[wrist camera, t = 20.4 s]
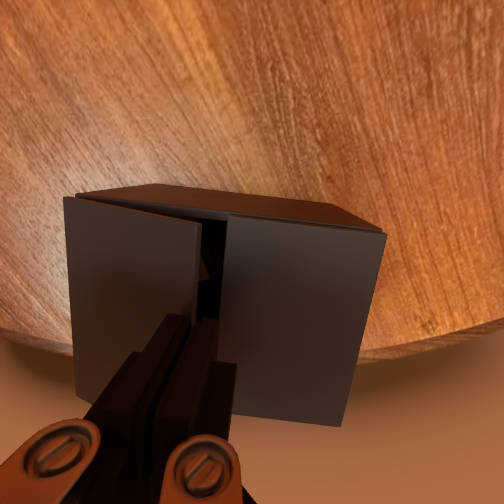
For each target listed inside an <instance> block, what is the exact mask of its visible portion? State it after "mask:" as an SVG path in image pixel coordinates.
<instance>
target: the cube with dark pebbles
mask: <svg viewBox="0 0 504 504" xmlns="http://www.w3.org/2000/svg"><path fill="white" fill-rule="evenodd" d="M214 269H215V265H214V262H213V259H212V256H211V254H210V251H209V248H208V245H207V243H206V240H205V238H204V239H201V248H200V264H199V280H198V282H200V281H204V280H207V279H210V277H211V275H212V273H213V271H214Z"/></svg>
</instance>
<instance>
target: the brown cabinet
mask: <svg viewBox="0 0 504 504" xmlns="http://www.w3.org/2000/svg"><path fill="white" fill-rule="evenodd" d="M75 197H76V198H80V199H85V200H90V201H95V202H100V203H105V204H110V205H114V206H119V207H124V208H129V209H134V210H139V211H144V212H148V213H153V214H158V215H163V216H168V217H173V218H178V219H182V220H187V221H192V222H197V223H201V224H202V233H201V239H204V238H205V240H206V243H207V245H208V248H209V251H210V254H211V256H212V259H213V262H214V265H215V269H214V271H213V273H212V275H211V277H210V279H207V280H204V281H200V282H198V295H197V311H196V321H201V320H202V318H203V317H206V318H214V319H220V329H219V340H218V352H217V361H220V362H228V363H237V373H236V382H235V391H234V399H233V407H232V414H235V415H244V416H251V417H260V418H268V419H277V420H284V421H292V422H300V423H309V424H317V425H325V426H334V427H341V424H342V420H343V416H344V412H345V408H346V404H347V399H348V395H349V391H350V387H351V383H352V379H353V375H354V370H355V367H356V362H357V358H358V354H359V350H360V346H361V342H362V338H363V334H364V330H365V326H366V321H367V317H368V313H369V309H370V305H371V301H372V297H373V293H374V289H375V284H376V280H377V276H378V272H379V268H380V264H381V260H382V256H383V252H384V247H385V243H386V239H387V234H386V233H383V232H382V229H380V228H378V227H376V226H375V225H373V224H371V223H369V222H367V221H365V220H363V219H361V218H359V217H357V216H355V215H353V214H351V213H349V212H347V211H345V210H343V209H341V208H339V207H337V206H335V205H333V204H328V203H320V202H311V201H303V200H294V199H285V198H277V197H268V196H259V195H251V194H242V193H233V192H225V191H216V190H207V189H199V188H190V187H181V186H173V185H164V184H155V183H154V184H146V185H138V186H131V187H123V188H115V189H107V190H100V191H92V192H84V193H76V194H75Z"/></svg>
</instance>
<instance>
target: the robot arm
mask: <svg viewBox="0 0 504 504" xmlns="http://www.w3.org/2000/svg"><path fill="white" fill-rule="evenodd" d="M191 326H192V322H191V320H186V315H180V314H172V313H168V314H167V315H166V317H165V318H164V320H163V321H162V323H161V324H160V326H159V327H158V329H157V330H156V331H155V333H154V334H153V336H152V337H151V339H150V340H149V342H148V343H147V345H146V346H145V348H144V349H143V351H142V352H136V351H134V352H132V353H131V354H130V355H129V356H128V357H127V359H126V360H125V361H124V363H123V364H122V366H121V367H120V368H119V370H118V371H117V372H116V374H115V375H114V377H113V378H112V379H111V381H110V382H109V383H108V385H107V386H106V388H105V389H104V390H103V392H102V393H101V394H100V396H99V397H98V399H97V400H96V401H95V403H94V404H93V405H92V407H91V408H90V410H89V411H88V412H87V414H86V415H85V416H84V418H83V419H77V418H75V419H67V420H62V421H59V422H56V423H53V424H51V425H49V426H47V427H45V428H43V429H41V430H39V431H38V432H37V433H35V434H34V435H33V436H32V437H30V438H29V439H28V440H27V441H26V442H25V443H23V444H22V445H21V446H20V447H19V448H18V449H17V450H16V451H15V452H14V453H13V454H12V455H11V456H10V457H9V458H8V459H6V461H4V462H3V463H2V464H1V465H0V504H257V503H256V502H255V501H254V500H253V498H252V497H251V496H250V495H249V493H247V491H246V489H245V488H244V487H243V486H242V483H241V469H240V462H239V458H238V454H237V453H236V451H235V449H234V448H233V446H232V445H231V444H229V443H228V438H229V430H230V423H231V415H232V407H233V399H234V391H235V382H236V373H237V363H228V362H220V361H217V352H218V340H219V329H220V319H214V318H206V317H203V318H202V320H201V321H196V322H195V324H194V326H193V328H192V330H191Z"/></svg>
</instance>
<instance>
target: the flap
mask: <svg viewBox="0 0 504 504" xmlns="http://www.w3.org/2000/svg"><path fill="white" fill-rule="evenodd" d="M63 207H64V222H65V237H66V252H67V267H68V282H69V297H70V311H71V326H72V341H73V356H74V371H75V385H76V396H78V397H80V398H81V399H83V400H85V401H87V402H88V403H90V404H92V405H93V404H94V403H95V401H96V400H97V399H98V397H99V396H100V394H101V393H102V392H103V390H104V389H105V388H106V386H107V385H108V383H109V382H110V381H111V379H112V378H113V377H114V375H115V374H116V372H117V371H118V370H119V368H120V367H121V366H122V364H123V363H124V361H125V360H126V359H127V357H128V356H129V355H130V354H131V353H132V352H134V351H136V352H142V351H143V349H144V348H145V346H146V345H147V343H148V342H149V340H150V339H151V337H152V336H153V334H154V333H155V331H156V330H157V329H158V327H159V326H160V324H161V323H162V321H163V320H164V318H165V317H166V315H167V314H168V313H172V314H180V315H186V320H191V322H192V326H191V330H192V328H193V326H194V324H195V322H196V311H197V295H198V280H199V264H200V248H201V233H202V224H201V223H197V222H192V221H187V220H182V219H178V218H173V217H168V216H163V215H158V214H153V213H148V212H144V211H139V210H134V209H129V208H124V207H119V206H114V205H110V204H105V203H100V202H95V201H90V200H85V199H80V198H76V197H71V196H67V197H63Z"/></svg>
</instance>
